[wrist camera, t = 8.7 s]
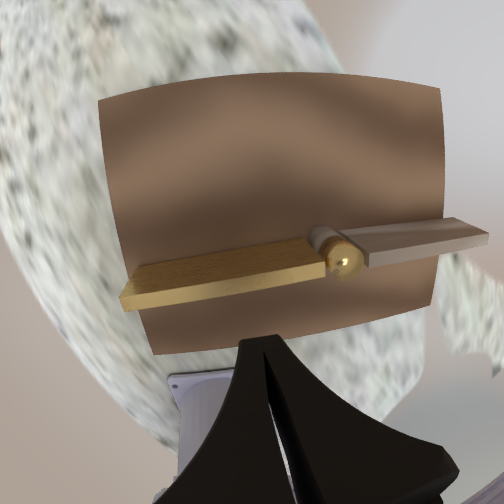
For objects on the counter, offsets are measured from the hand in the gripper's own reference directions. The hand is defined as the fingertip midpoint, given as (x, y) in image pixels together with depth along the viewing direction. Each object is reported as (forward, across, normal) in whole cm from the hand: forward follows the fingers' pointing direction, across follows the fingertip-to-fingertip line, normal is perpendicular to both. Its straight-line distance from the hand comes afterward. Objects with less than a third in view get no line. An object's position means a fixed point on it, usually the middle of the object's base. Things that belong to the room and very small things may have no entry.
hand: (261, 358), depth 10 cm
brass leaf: (+8, 0, -1) cm, 8 cm away
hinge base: (+9, -5, -2) cm, 11 cm away
